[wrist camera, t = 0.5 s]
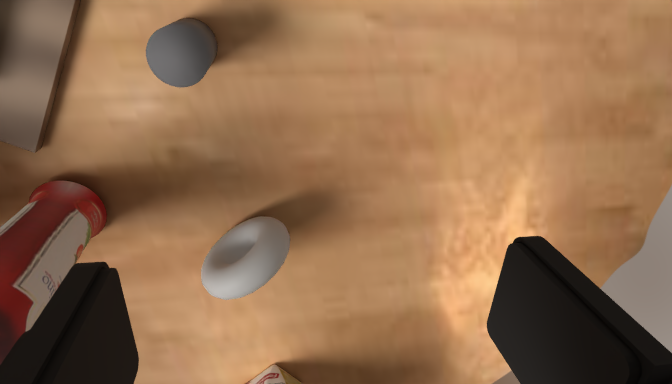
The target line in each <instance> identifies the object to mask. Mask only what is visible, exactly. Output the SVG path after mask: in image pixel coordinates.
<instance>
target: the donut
mask: <svg viewBox="0 0 672 384" xmlns="http://www.w3.org/2000/svg"><path fill="white" fill-rule="evenodd" d="M289 246H290V235H289V233H288V231H287V228H286V227H285V225H284V224H283V223H282V222H281V221H279V220H277V219H275V218H273V217H263V216H259V217H255V218H251V219H249V220H246V221H244V222H242V223H240V224H238V225H237V226H235V227H234V228H232V229H231V230H229V231H228V232H227V233H226V234H224V235H223V236H222V237H221V238H220V239H219V240H218V241H217V242H216V244H215V245H214V246H213V247H212V248H211V250H210V251H209V253H208V254H207V256H206V258H205V260H204V263H203V266H202V270H201V280H202V284H203V285H204V287H205V288H206V290H207V291H208V292H209V294H211V295H212V296H214V297H217V298H220V299H224V300H229V299H236V298H241V297H244V296H246V295H248V294H251V293H253V292H254V291H256V290H257V289H259V288H260V287H262V286H263V285H265V284H266V283H267V282H268V281H269V280H270V279H271V278H272V277H273V276H274V275H275V274H276V273H277V271H278V270H279V269H280V267H281V266H282V265H283V263H284V261H285V259H286V256H287V254H288V252H289Z"/></svg>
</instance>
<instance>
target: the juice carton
mask: <svg viewBox="0 0 672 384" xmlns="http://www.w3.org/2000/svg"><path fill="white" fill-rule="evenodd" d="M246 384H302V383H301V382H300V381H298V380H297V379H296V378H294V377H293V376H291V375H290V374H288V373H287V372H286V371H284V370H283V369H281V368H280V367H278V366H277V365H275V364H274V365H272V366H270V367H269V368H267V369H266V370H264V371H263V372H262V373H260V374H259V375H258V376H256V377H255V378H254V379H252V380H251V381H249V382H248V383H246Z"/></svg>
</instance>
